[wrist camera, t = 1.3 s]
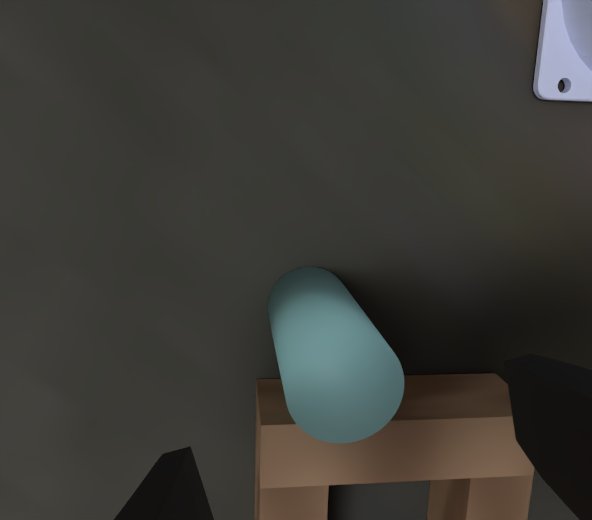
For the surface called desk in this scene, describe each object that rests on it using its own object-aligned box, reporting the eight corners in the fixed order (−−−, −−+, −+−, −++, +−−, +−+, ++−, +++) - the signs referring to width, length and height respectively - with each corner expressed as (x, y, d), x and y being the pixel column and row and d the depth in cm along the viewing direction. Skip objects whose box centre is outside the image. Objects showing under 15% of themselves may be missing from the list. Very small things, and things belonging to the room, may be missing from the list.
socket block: (495, 373, 23) (542, 415, 19) (471, 574, 25) (509, 644, 21) (256, 379, 21) (260, 425, 18) (253, 590, 24) (257, 666, 20)
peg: (350, 266, 21) (408, 330, 14) (346, 344, 21) (399, 441, 15) (268, 266, 20) (286, 332, 14) (266, 345, 21) (283, 446, 14)
